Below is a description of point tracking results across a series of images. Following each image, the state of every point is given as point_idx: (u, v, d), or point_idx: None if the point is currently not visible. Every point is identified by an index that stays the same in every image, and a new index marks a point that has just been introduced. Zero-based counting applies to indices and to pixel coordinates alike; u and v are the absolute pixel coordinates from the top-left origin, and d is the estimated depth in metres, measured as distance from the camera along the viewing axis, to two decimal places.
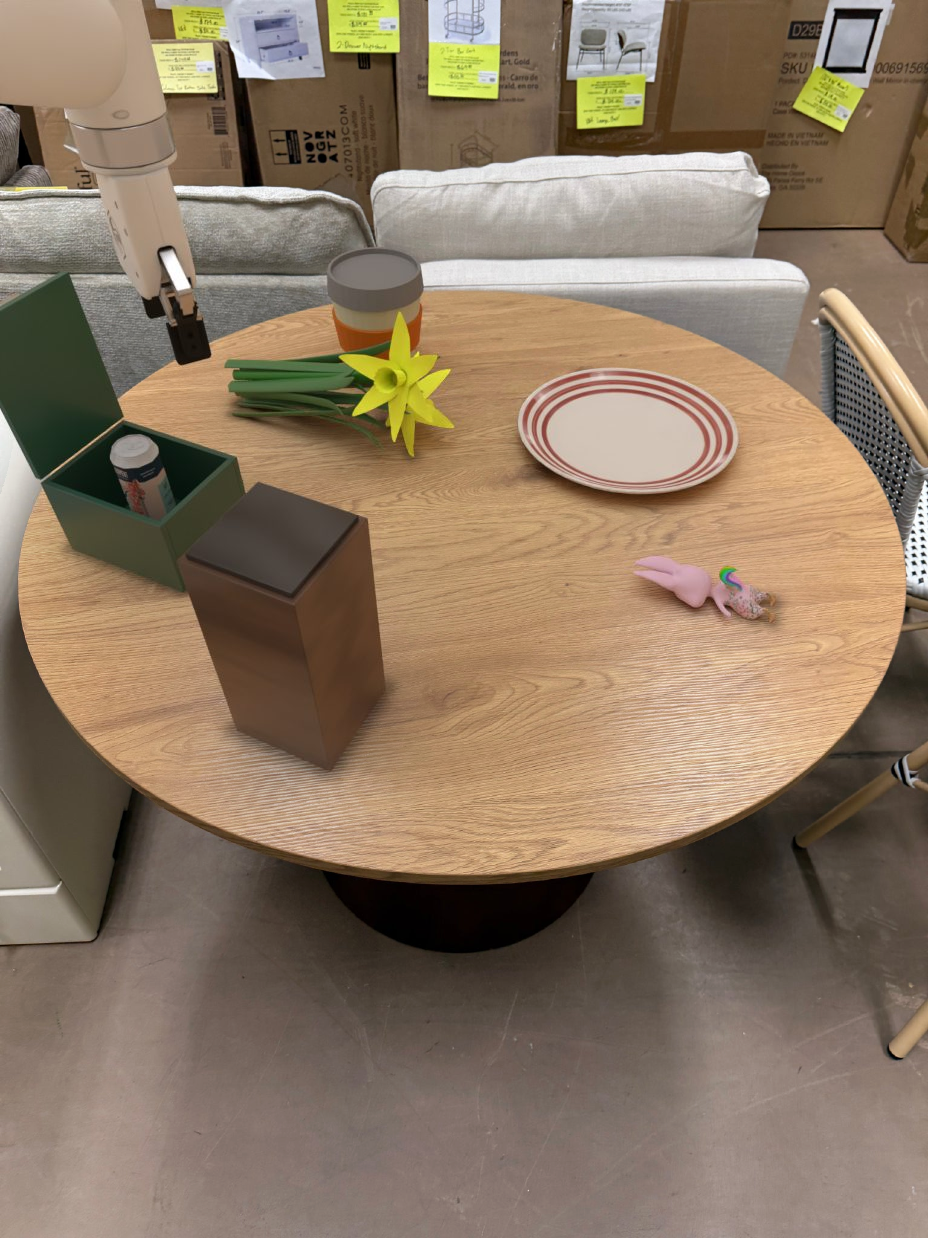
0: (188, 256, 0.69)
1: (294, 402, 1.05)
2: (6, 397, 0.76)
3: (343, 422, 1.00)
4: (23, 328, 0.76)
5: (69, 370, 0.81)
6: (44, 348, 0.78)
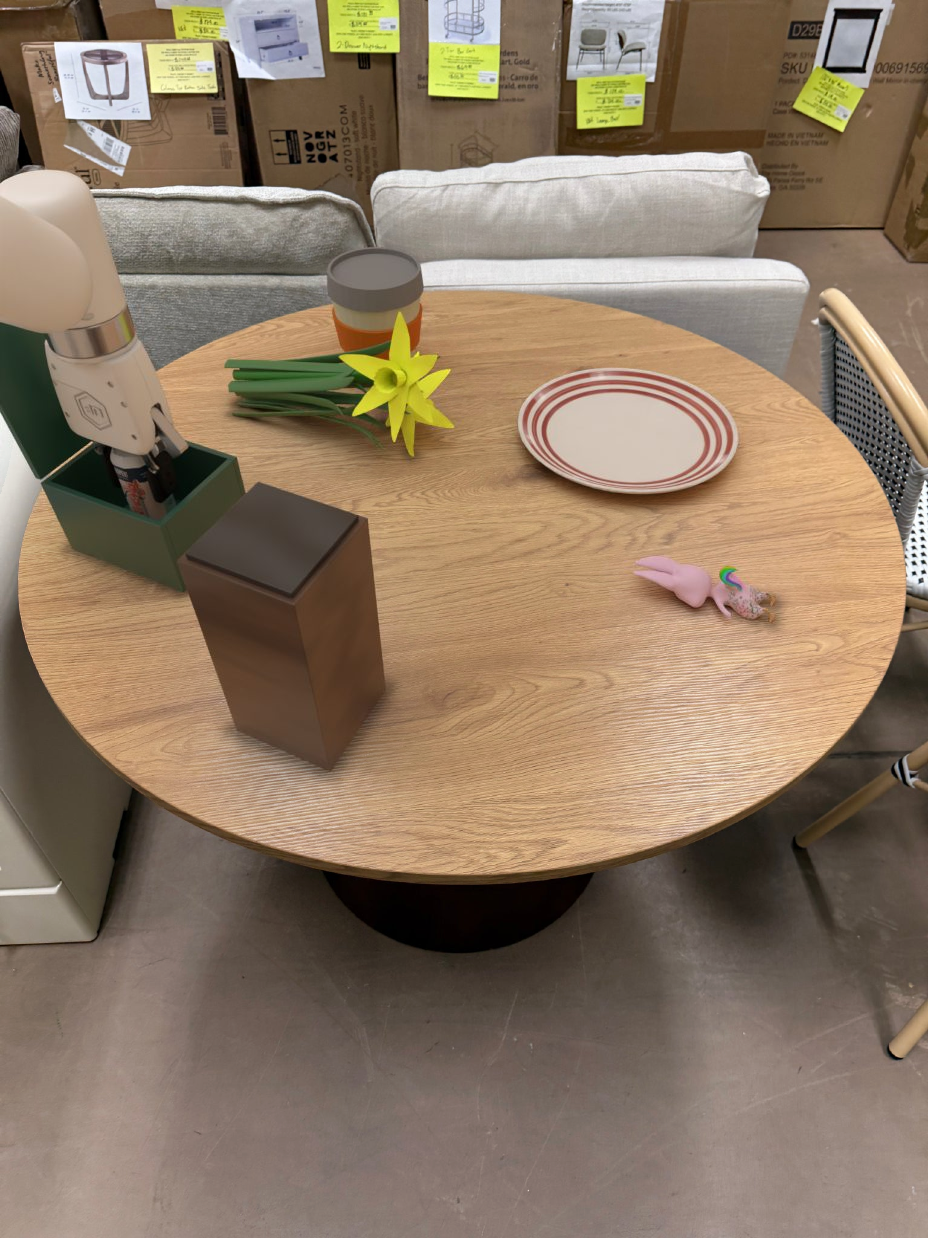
0: (168, 407, 0.78)
1: (294, 402, 1.05)
2: (3, 396, 0.76)
3: (343, 422, 1.00)
4: (19, 327, 0.76)
5: None
6: (41, 347, 0.78)
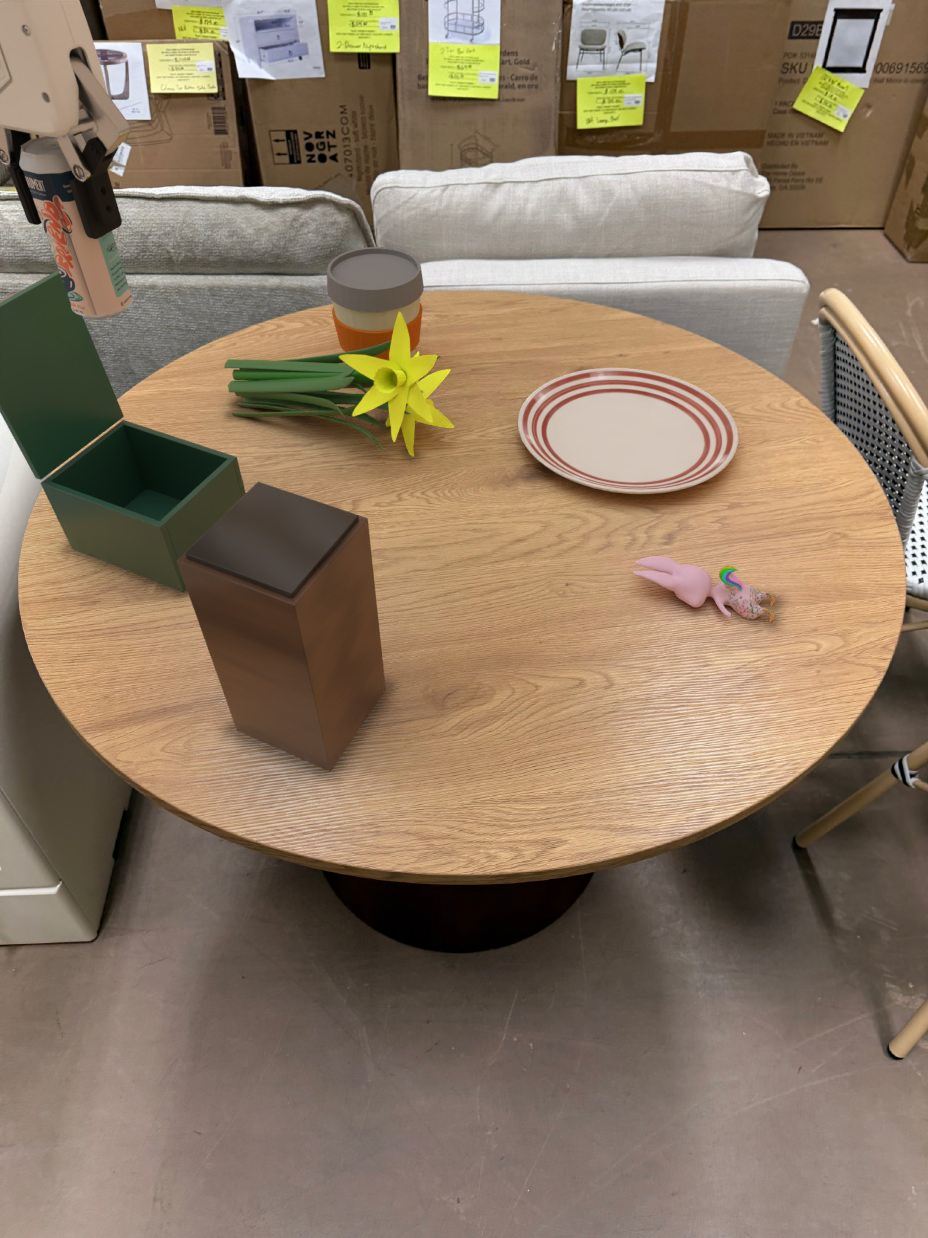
0: (99, 64, 0.53)
1: (294, 402, 1.05)
2: (3, 396, 0.76)
3: (343, 422, 1.00)
4: (19, 327, 0.76)
5: (66, 369, 0.82)
6: (41, 347, 0.78)
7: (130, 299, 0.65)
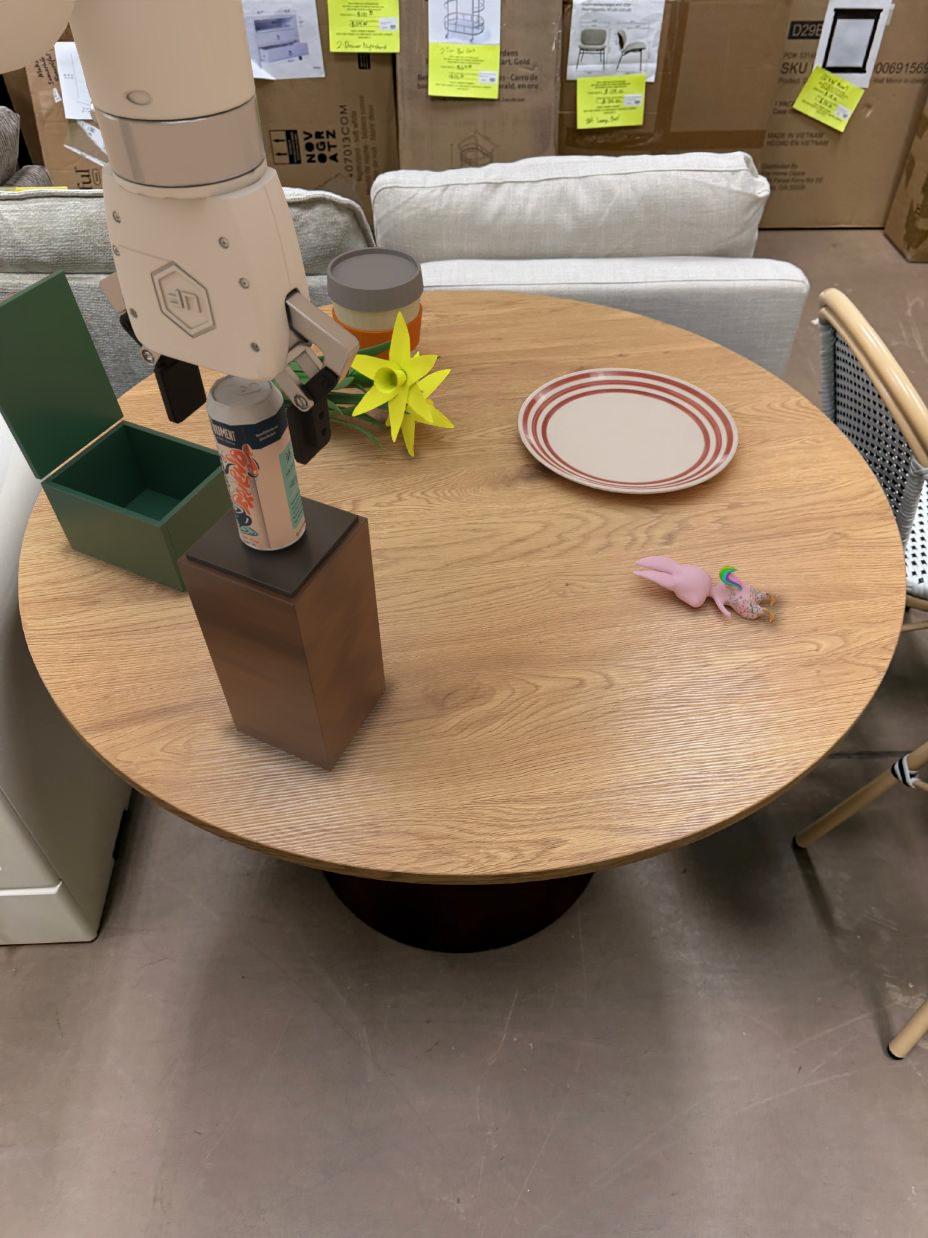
0: (309, 299, 0.45)
1: None
2: (3, 396, 0.76)
3: (343, 422, 1.00)
4: (19, 327, 0.76)
5: (66, 369, 0.82)
6: (41, 347, 0.78)
7: (304, 525, 0.59)
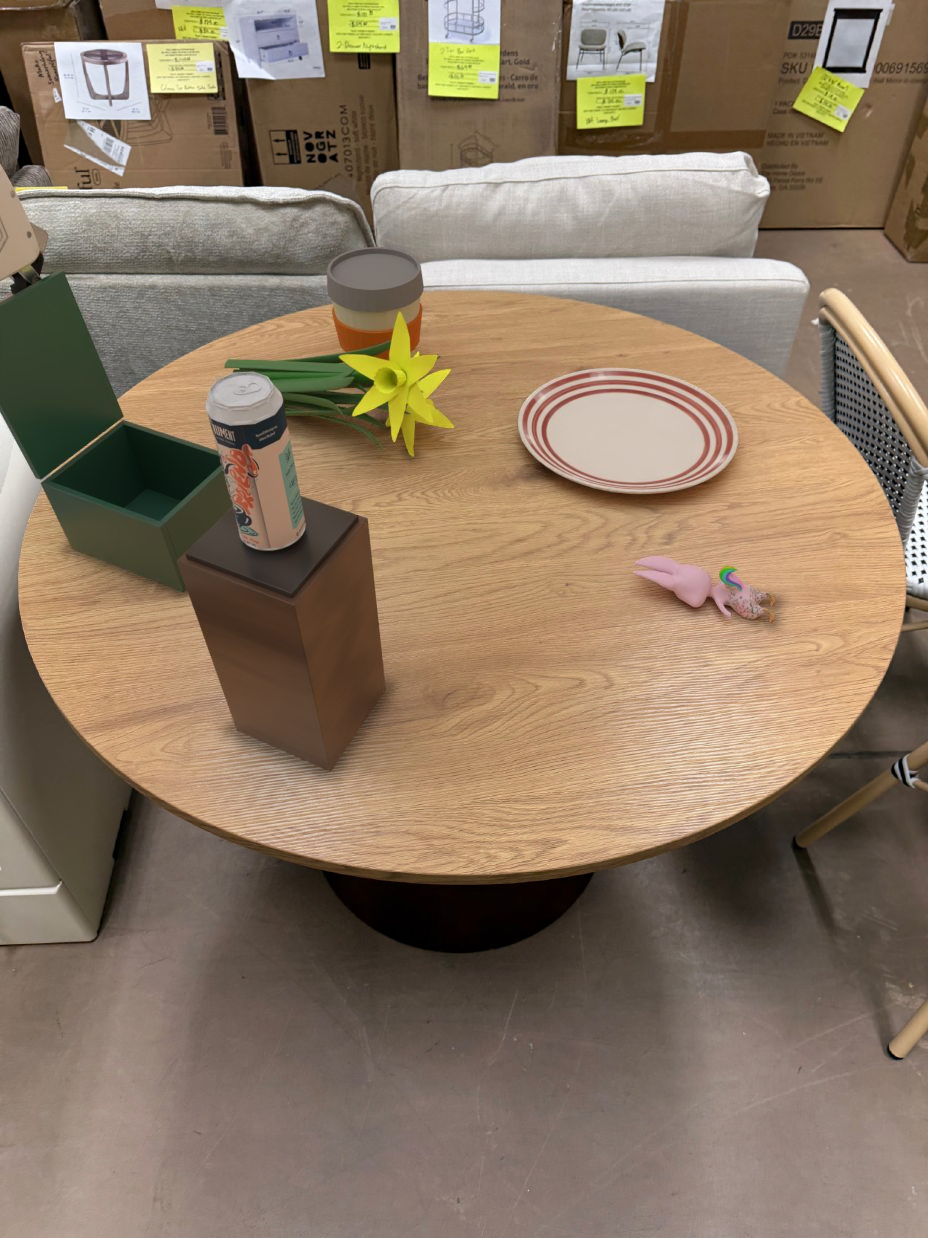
0: None
1: (294, 402, 1.05)
2: (3, 396, 0.76)
3: (343, 422, 1.00)
4: (19, 327, 0.76)
5: (66, 369, 0.82)
6: (41, 347, 0.78)
7: (304, 525, 0.59)
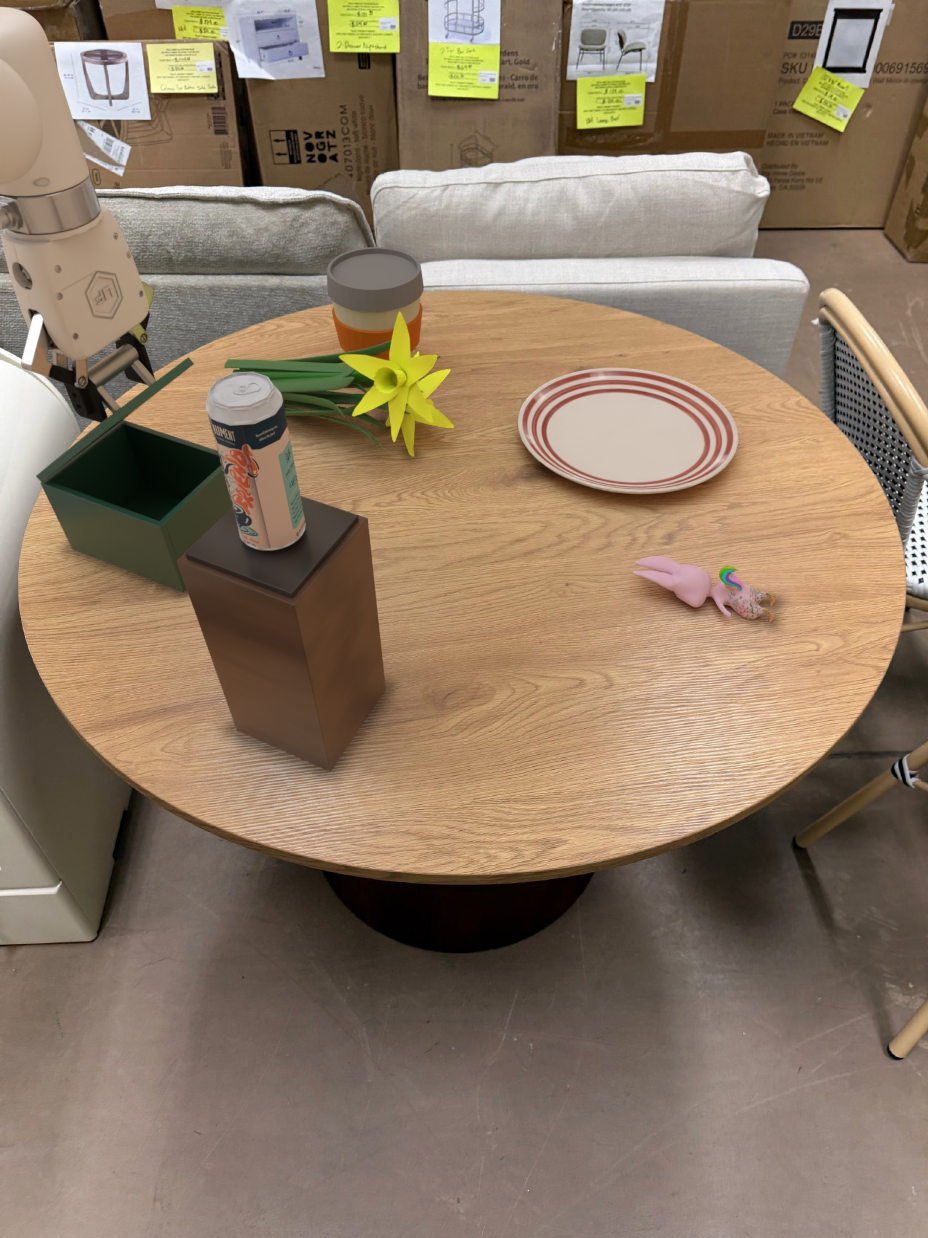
0: None
1: (294, 402, 1.05)
2: None
3: (343, 422, 1.00)
4: None
5: None
6: (131, 412, 0.79)
7: (304, 525, 0.59)
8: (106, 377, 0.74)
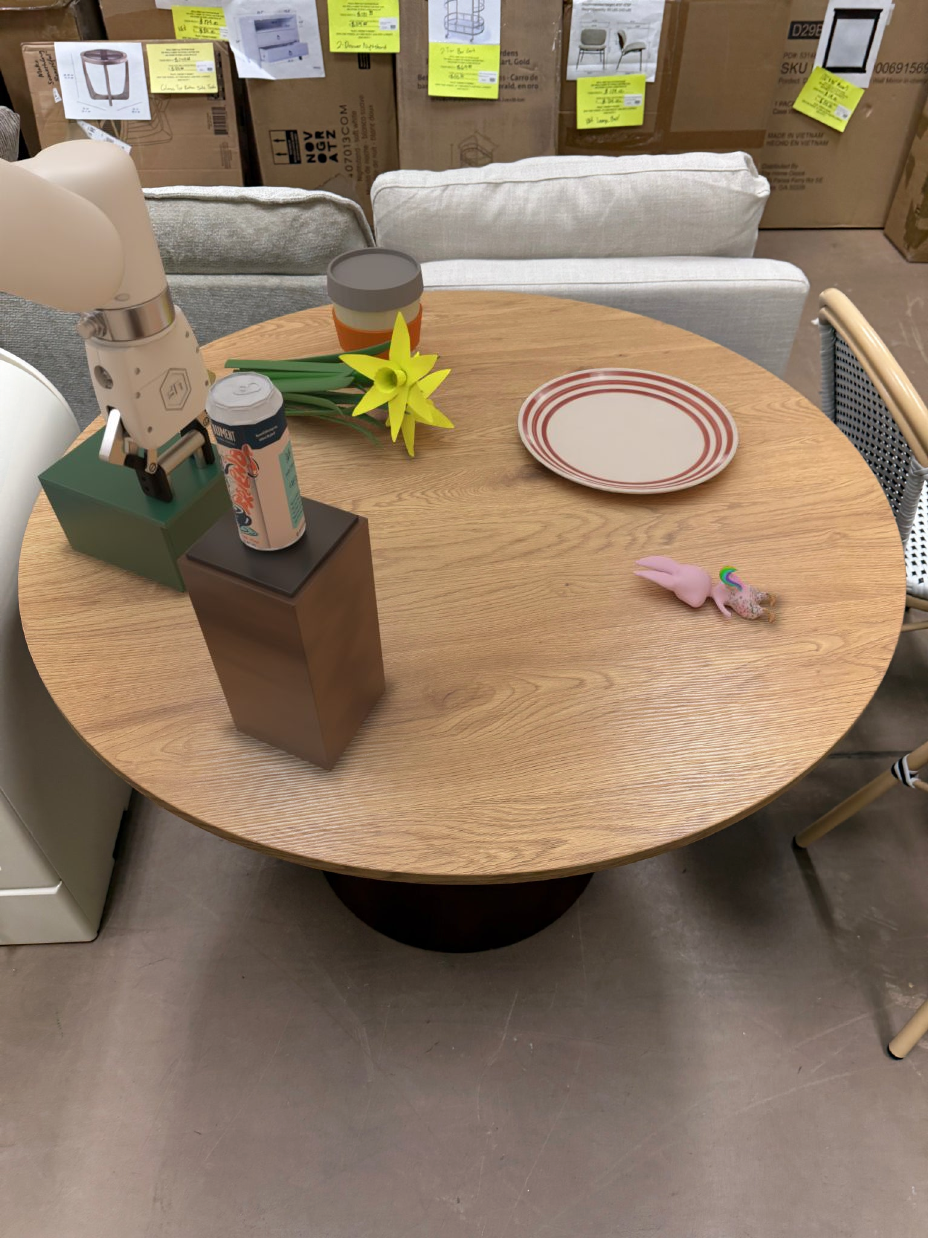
0: None
1: (294, 402, 1.05)
2: None
3: (343, 422, 1.00)
4: None
5: None
6: None
7: (304, 525, 0.59)
8: (175, 468, 0.79)
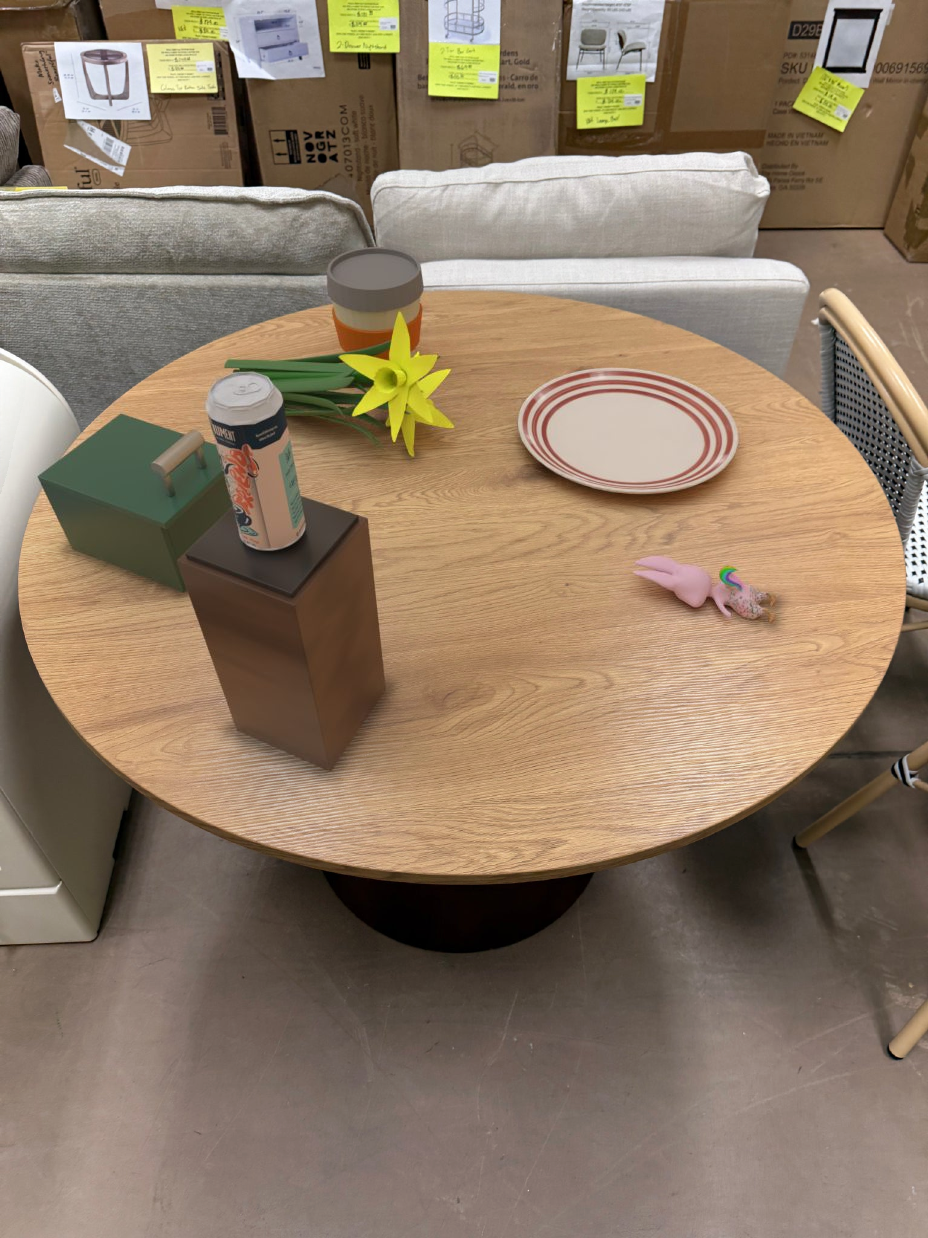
0: None
1: (294, 402, 1.05)
2: None
3: (343, 422, 1.00)
4: None
5: None
6: None
7: (304, 525, 0.59)
8: (175, 468, 0.79)
